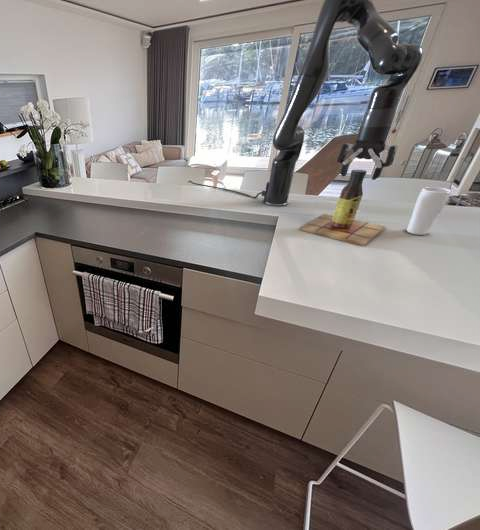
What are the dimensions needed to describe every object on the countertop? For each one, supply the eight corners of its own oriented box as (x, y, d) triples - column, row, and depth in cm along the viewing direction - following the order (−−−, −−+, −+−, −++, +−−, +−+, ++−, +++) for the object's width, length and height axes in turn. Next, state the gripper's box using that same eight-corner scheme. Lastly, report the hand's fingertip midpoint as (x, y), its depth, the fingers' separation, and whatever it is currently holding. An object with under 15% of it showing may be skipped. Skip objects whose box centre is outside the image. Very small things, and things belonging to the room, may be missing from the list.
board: (299, 229, 108) (300, 226, 107) (323, 216, 118) (324, 213, 117) (363, 246, 94) (364, 242, 93) (384, 228, 104) (385, 225, 103)
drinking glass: (426, 230, 100) (447, 187, 93) (432, 237, 95) (455, 193, 88) (401, 227, 103) (419, 186, 96) (405, 234, 98) (425, 191, 91)
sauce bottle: (347, 230, 102) (366, 173, 92) (327, 226, 106) (344, 171, 96) (354, 225, 105) (374, 170, 95) (335, 221, 109) (352, 167, 100)
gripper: (410, 123, 85) (388, 178, 93) (353, 123, 95) (338, 172, 103) (402, 125, 82) (380, 183, 90) (344, 125, 92) (329, 176, 100)
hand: (358, 177), depth 96 cm, fingers open, 8 cm apart
